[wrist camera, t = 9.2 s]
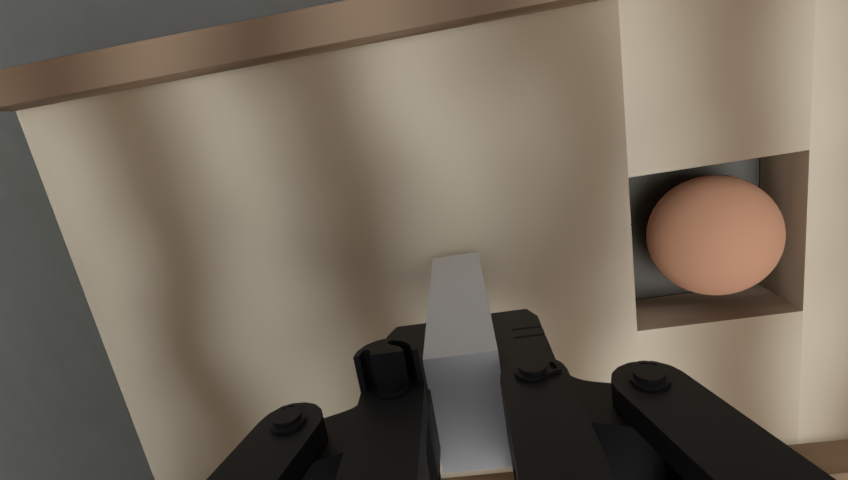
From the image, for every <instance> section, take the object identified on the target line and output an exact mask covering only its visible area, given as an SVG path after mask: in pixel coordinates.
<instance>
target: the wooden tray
mask: <svg viewBox="0 0 848 480" xmlns="http://www.w3.org/2000/svg"><path fill="white" fill-rule="evenodd" d="M0 111H16V113H17V116H18V119H19V121H20V124H21V127H22V129H23V132H24V135H25V137H26V140H27V142H28V145H29V148H30V150H31V153H32V156H33V158H34V161H35V164H36V166H37V169H38V172H39V174H40V177H41V180H42V182H43V185H44V188H45V190H46V193H47V195H48V198H49V201H50V203H51V206H52V209H53V211H54V214H55V217H56V219H57V222H58V225H59V227H60V230H61V233H62V235H63V238H64V241H65V243H66V246H67V249H68V251H69V254H70V256H71V259H72V262H73V264H74V267H75V270H76V272H77V275H78V278H79V280H80V283H81V286H82V288H83V291H84V294H85V296H86V299H87V302H88V304H89V307H90V310H91V312H92V315H93V317H94V320H95V323H96V325H97V328H98V331H99V333H100V336H101V339H102V341H103V344H104V347H105V349H106V352H107V355H108V357H109V360H110V363H111V365H112V368H113V371H114V373H115V376H116V378H117V381H118V384H119V386H120V389H121V392H122V394H123V397H124V400H125V402H126V405H127V408H128V410H129V413H130V416H131V418H132V421H133V424H134V426H135V429H136V431H137V434H138V437H139V439H140V442H141V445H142V447H143V450H144V453H145V455H146V458H147V461H148V463H149V466H150V469H151V471H152V474H153V477H154V479H155V480H206V479H207V478H208V477H209V476H210V475H211V474H212V473H213V472H214V471H215V469H216V468H217V467H218V466H219V465H220V464H221V463H222V462H223V461H224V460H225V459H226V457H227V456H228V455H229V454H230V453H231V452H232V451H233V450H234V449H235V448H236V447H237V446H238V444H239V443H240V442H241V441H242V440H243V439H244V438H245V437H246V436H247V435H248V434H249V433H250V431H251V430H252V429H253V428H254V427H255V426H256V425H257V424H258V423H259V422H260V421H261V420H262V419H263V418H264V417H266V416H267V415H268V414H269V413H271V412H273V411H275V410H277V409H279V408H280V407H282V406H285V405H289V404H292V403H302V402H308V403H313V404H316V405H317V406H319V407H320V408H321V409H322V413H323V417H324V418H326V417H329V416H332V415H335V414H338V413H341V412H344V411H347V410H349V409H352V408H353V407H355V406H357V405H358V401H359V398H360V394H361V391H360V387H359V382H358V378H357V373H356V369H355V364H354V360H353V356H354V355H355V354H356V352H357V351H358V350H359V349H361V348H362V347H364V346H365V345H367V344H370V343H372V342H374V341H377V340H381V339H386V338H387V336H388V335H389V334H390V333H391V332H392V331H393V330H394V329H395V328H396V327H399V326H407V325H415V324H422V323H426V321H427V311H428V301H429V291H430V280H431V270H432V260H433V258H439V257H446V256H453V255H461V254H468V253H475V252H478V253H479V258H480V263H481V268H482V273H483V278H484V283H485V288H486V293H487V298H488V303H489V308H490V313H497V312H505V311H513V310H520V309H528V310H529V311H531V312H532V313H534V314H535V315H537V316H538V318H539V320H540V323H541V325H542V328H543V330H544V332H545V335H546V337H547V340H548V342H549V344H550V347H551V349H552V352H553V354H554V356H555V359H556V360H558V361H560V362H562V363H563V364H564V365H565V367H566V368H567V369H568V372H569V374H570V375H571V376H573V377H575V378H578V379H582V380H586V381H593V382H605V383H611V375H612V372H613V371H614V370H615V369H616V368H617V367H619V366H621V365H624V364H626V363H630V362H637V361H656V362H660V363H664V364H668V365H671V366H673V367H675V368H677V369H679V370H681V371H683V372H684V373H686V374H687V375H689V376H690V377H691V378H693V379H694V380H696V381H697V382H698V383H700V384H701V385H703V386H704V387H706V388H707V389H708V390H710V391H711V392H713V393H714V394H715V395H717V396H718V397H720V398H721V399H723V400H724V401H725V402H727V403H728V404H730V405H731V406H732V407H734V408H735V409H737V410H738V411H740V412H741V413H742V414H744V415H745V416H747V417H748V418H750V419H751V420H752V421H754V422H755V423H757V424H758V425H759V426H761V427H762V428H764V429H765V430H767V431H768V432H769V433H771V434H772V435H774V436H775V437H776V438H778V439H779V440H781V441H782V442H784V443H785V444H786V445H788V446H789V447H791V448H792V449H793V450H795V451H796V452H798V453H799V454H801V455H802V456H803V457H805V458H806V459H808V460H809V461H811V462H812V463H813V464H815V465H816V466H818V467H819V468H820V469H822V470H823V471H825V472H826V473H828V474H829V475H830V476H832V477H833V478H835V479H836V480H848V0H344V1H339V2H334V3H329V4H324V5H319V6H314V7H309V8H304V9H299V10H294V11H289V12H284V13H279V14H274V15H269V16H264V17H259V18H254V19H249V20H244V21H239V22H234V23H229V24H224V25H219V26H214V27H209V28H204V29H199V30H194V31H189V32H184V33H179V34H174V35H169V36H164V37H159V38H154V39H149V40H144V41H139V42H134V43H129V44H124V45H119V46H114V47H109V48H104V49H99V50H94V51H89V52H84V53H79V54H74V55H69V56H64V57H59V58H54V59H49V60H44V61H38V62H33V63H28V64H23V65H18V66H13V67H8V68H3V69H0ZM754 158H760V189H762V190H763V191H764V192H766V193H767V194H768V195H769V196H770V197H771V198H772V200H773V201H774V202H775V203H776V205H777V206H778V208H779V210H780V212H781V214H782V216H783V219H784V223H785V228H786V241H785V247H784V251H783V254H782V256H781V258H780V260H779V262H778V264H777V265H776V267H775V268H774V269H773V270H772V272H771V273H770V274H769V275H768V276H767V277H765V278H764V279H763V280H762V281H760V282H759V284H756V285H754V286H752V287H750V288H748V289H745V290H743V291H740V292H737V293H733V294H727V295H704V294H698V293H695V292H692V293H685V294H677V295H669V296H661V297H653V298H646V299H638V300H635V284H634V266H633V249H632V231H631V214H630V197H629V179H628V178H629V177H636V176H642V175H649V174H655V173H662V172H669V171H675V170H682V169H688V168H695V167H701V166H708V165H714V164H721V163H727V162H734V161H741V160H747V159H754ZM440 474H441V479H442V480H514V474H513V467H505V468H495V469H485V470H475V471H465V472H455V473H445V474H443V470H442V464H441V459H440Z"/></svg>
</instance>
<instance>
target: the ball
mask: <svg viewBox="0 0 848 480" xmlns="http://www.w3.org/2000/svg"><path fill="white" fill-rule="evenodd" d="M646 241H647V247H648V251H649V254H650V256H651V258H652V260H653V262H654V264H655V265H656V267H657V268H658V269H659V271H660V272H661V273H662V274H663V275H664V276H665V277H666V278H667V279H669V280H670V281H671V282H673V283H674V284H676V285H677V286H679V287H681V288H684V289H686V290H688V291H691V292H695V293H698V294H704V295H727V294H733V293H737V292H740V291H743V290H745V289H748V288H750V287H752V286H754V285H756V284H757V283H759V282H760V281H762V280H763V279H764V278H765V277H767V276H768V275H769V274H770V273H771V272H772V270H773V269H774V268H775V267H776V265H777V264H778V262H779V260H780V258H781V256H782V254H783V251H784V247H785V241H786V228H785V223H784V219H783V216H782V214H781V212H780V210H779V208H778V206H777V205H776V203H775V202H774V201H773V200H772V198H771V197H770V196H769V195H768V194H767V193H766V192H764V191H763V190H762V189H760V188H759V187H757V186H756V185H754V184H752V183H750V182H748V181H746V180H742V179H739V178H736V177H731V176H724V175H709V176H701V177H697V178H693V179H690V180H688V181H685V182H683V183H681V184H679V185H677V186H675V187H674V188H672V189H671V190H670V191H668V192H667V193H666V194H665V195H664V196H663V197H662V198H661V199H660V200H659V201H658V203H657V204H656V206H655V207H654V209H653V211H652V213H651V215H650V217H649V220H648V224H647V230H646Z"/></svg>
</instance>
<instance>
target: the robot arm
mask: <svg viewBox="0 0 848 480" xmlns="http://www.w3.org/2000/svg"><path fill="white" fill-rule="evenodd" d="M353 360H354V364H355V369H356V373H357V378H358V382H359V387H360V391H361V394H360V398H359V401H358V405H357V406H355V407H353V408H352V409H349V410H347V411H344V412H341V413H338V414H335V415H332V416H329V417H326V418H324V417H323V413H322V409H321V408H320V407H319V406H317V405H316V404H313V403H308V402H302V403H292V404H289V405H285V406H282V407H280V408H279V409H277V410H275V411H273V412H271V413H269V414H268V415H267V416H266V417H264V418H263V419H262V420H261V421H260V422H259V423H258V424H257V425H256V426H255V427H254V428H253V429H252V430H251V431H250V433H249V434H248V435H247V436H246V437H245V438H244V439H243V440H242V441H241V442H240V443H239V444H238V446H237V447H236V448H235V449H234V450H233V451H232V452H231V453H230V454H229V455H228V456H227V457H226V459H225V460H224V461H223V462H222V463H221V464H220V465H219V466H218V467H217V468H216V469H215V471H214V472H213V473H212V474H211V475H210V476H209V477H208V478H207V479H206V480H442V479H441V474H440V459H441V464H442V470H443V474H445V473H455V472H465V471H475V470H485V469H495V468H505V467H513V474H514V480H836V479H835V478H833V477H832V476H830V475H829V474H828V473H826V472H825V471H823V470H822V469H820V468H819V467H818V466H816V465H815V464H813V463H812V462H811V461H809V460H808V459H806V458H805V457H803V456H802V455H801V454H799V453H798V452H796V451H795V450H793V449H792V448H791V447H789V446H788V445H786V444H785V443H784V442H782V441H781V440H779V439H778V438H776V437H775V436H774V435H772V434H771V433H769V432H768V431H767V430H765V429H764V428H762V427H761V426H759V425H758V424H757V423H755V422H754V421H752V420H751V419H750V418H748V417H747V416H745V415H744V414H742V413H741V412H740V411H738V410H737V409H735V408H734V407H732V406H731V405H730V404H728V403H727V402H725V401H724V400H723V399H721V398H720V397H718V396H717V395H715V394H714V393H713V392H711V391H710V390H708V389H707V388H706V387H704V386H703V385H701V384H700V383H698V382H697V381H696V380H694V379H693V378H691V377H690V376H689V375H687V374H686V373H684V372H683V371H681V370H679V369H677V368H675V367H673V366H671V365H668V364H664V363H660V362H656V361H637V362H630V363H626V364H624V365H621V366H619V367H617V368H616V369H615V370H614V371H613V372H612V375H611V383H605V382H593V381H586V380H582V379H578V378H575V377H573V376H571V375H570V374H569V372H568V369H567V368H566V367H565V365H564V364H563V363H562V362H560V361H558V360H556V359H555V356H554V354H553V352H552V349H551V347H550V344H549V342H548V340H547V337H546V335H545V332H544V330H543V328H542V325H541V323H540V320H539V318H538V316H537V315H535V314H534V313H532V312H531V311H529V310H528V309H520V310H513V311H505V312H497V313H490V308H489V303H488V298H487V293H486V288H485V283H484V278H483V273H482V268H481V263H480V258H479V253H478V252H475V253H468V254H461V255H453V256H446V257H439V258H433V260H432V270H431V280H430V291H429V301H428V311H427V321H426V323H422V324H415V325H407V326H399V327H396V328H395V329H394V330H393V331H392V332H391V333H390V334H389V335H388V336H387V338H386V339H381V340H377V341H374V342H372V343H370V344H367V345H365V346H364V347H362V348H361V349H359V350H358V351H357V352H356V354H355V355H354V356H353Z"/></svg>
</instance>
